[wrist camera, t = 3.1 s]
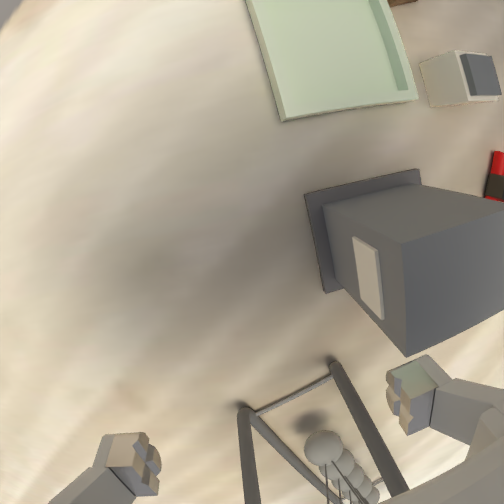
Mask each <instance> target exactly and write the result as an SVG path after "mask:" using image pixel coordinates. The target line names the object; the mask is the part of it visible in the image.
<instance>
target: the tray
mask: <svg viewBox="0 0 504 504" xmlns="http://www.w3.org/2000/svg"><path fill="white" fill-rule="evenodd" d="M245 1H246V4H247V7H248V10H249V13H250V16H251V20H252V23H253V26H254V29H255V32H256V36H257V39H258V42H259V45H260V49H261V52H262V55H263V59H264V62H265V66H266V69H267V73H268V76H269V80H270V83H271V87H272V90H273V94H274V98H275V101H276V105H277V109H278V112H279V116H280V120H281V122H282V121H287V120H292V119H297V118H302V117H307V116H313V115H318V114H324V113H330V112H336V111H342V110H349V109H356V108H363V107H370V106H378V105H387V104H396V103H406V102H410V101H414V100H418V99H419V96H418V93H417V89H416V85H415V81H414V78H413V74H412V71H411V67H410V64H409V61H408V57H407V54H406V51H405V48H404V45H403V42H402V39H401V36H400V33H399V31H398V28H397V25H396V22H395V20H394V17H393V15H392V12H391V9H390V7H389V4H388V2H387V0H245Z"/></svg>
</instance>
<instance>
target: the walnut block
mask: <svg viewBox="0 0 504 504" xmlns="http://www.w3.org/2000/svg"><path fill="white" fill-rule="evenodd" d="M416 1H418V0H387V2H388V4H389V7H393V6H397V5H401V4H406V3H411V2H416Z"/></svg>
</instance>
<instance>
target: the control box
mask: <svg viewBox="0 0 504 504" xmlns="http://www.w3.org/2000/svg"><path fill="white" fill-rule="evenodd" d="M304 196H305V200H306V205H307V209H308V214H309V219H310V223H311V228H312V233H313V238H314V243H315V248H316V253H317V258H318V263H319V268H320V273H321V279H322V284H323V290H324V292H325V293H326V294H327V293H330V292H333V291H337V290H340V289H343V288H344V289H345V290H346V291H347V292H348V293H349V294H350V295H351V296H352V297H353V298H354V300H355V301H356V302H357V303H358V304H359V305H360V306H361V307H362V308H363V310H364V311H365V312H366V313H367V314H368V315H369V316H370V317H371V318H372V320H373V321H374V322H375V323H376V324H377V325H378V326H379V327H380V329H381V330H382V331H383V332H384V333H385V334H386V335H387V336H388V338H389V339H390V340H391V341H392V342H393V343H394V344H395V346H396V347H397V348H398V349H399V350H400V351H401V353H402V354H403V355H404V356H405V357H406V358H407V357H409V356H411V355H414V354H416V353H418V352H421V351H423V350H425V349H427V348H430V347H432V346H434V345H436V344H438V343H440V342H443V341H445V340H447V339H449V338H451V337H453V336H455V335H457V334H459V333H461V332H463V331H465V330H467V329H469V328H471V327H473V326H475V325H477V324H478V323H480V322H482V321H484V320H486V319H488V318H489V317H491V316H493V315H495V314H497V313H498V312H500V311H502V310H504V203H503V202H498V201H494V200H490V199H486V198H482V197H477V196H473V195H468V194H464V193H459V192H454V191H449V190H445V189H439V188H434V187H429V186H424V185H422V184H421V178H420V171H419V169H412V170H407V171H403V172H398V173H393V174H389V175H384V176H380V177H375V178H371V179H366V180H362V181H357V182H353V183H349V184H344V185H340V186H336V187H332V188H327V189H323V190H319V191H315V192H311V193H307V194H304Z"/></svg>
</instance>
